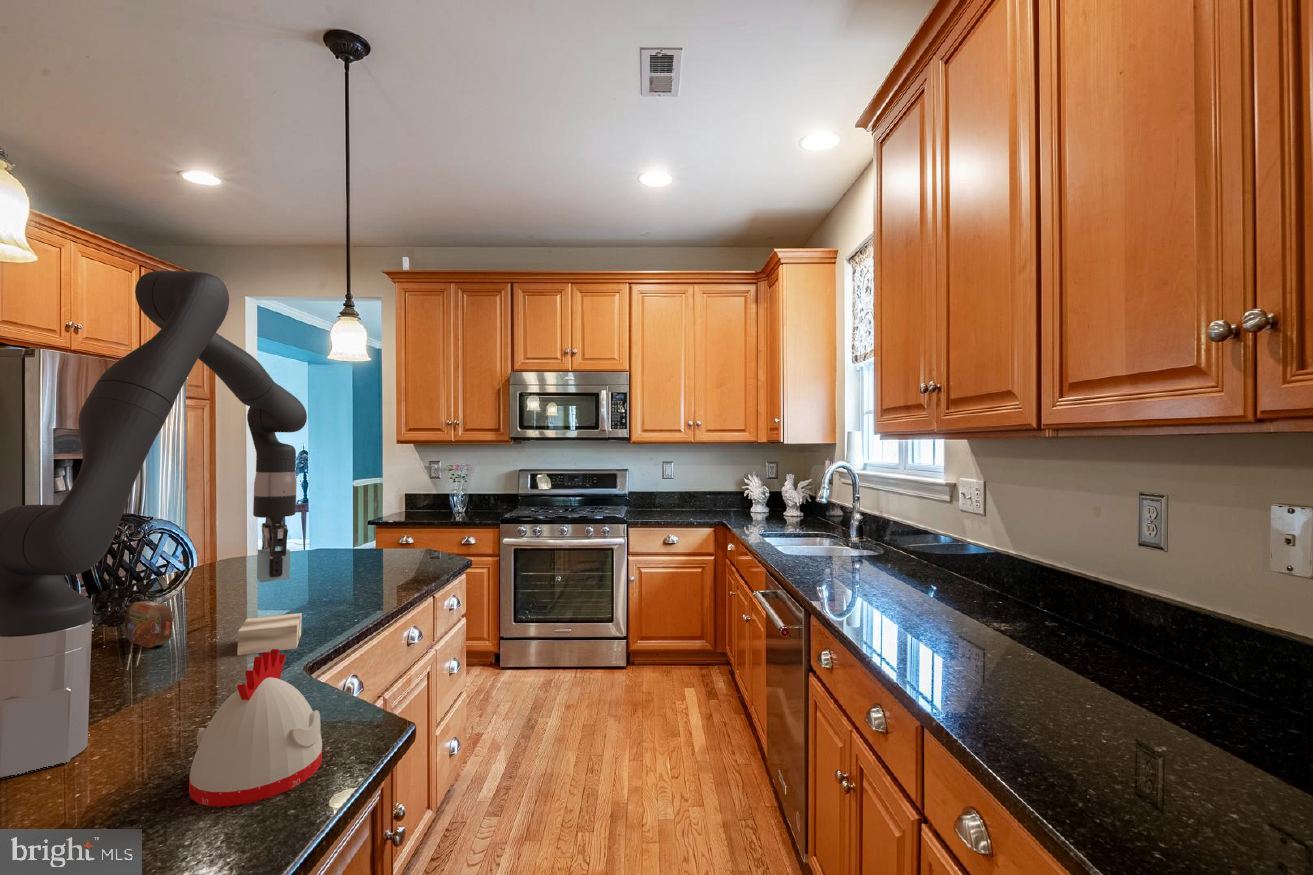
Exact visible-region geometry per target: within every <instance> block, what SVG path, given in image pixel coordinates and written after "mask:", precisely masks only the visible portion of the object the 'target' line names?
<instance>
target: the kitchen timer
mask: <svg viewBox="0 0 1313 875" xmlns="http://www.w3.org/2000/svg"><path fill="white" fill-rule="evenodd" d="M286 656H287V655H286V654H284V653H283V654H282V653H281V654H280V650H279V649H272V650H271V652H262V653H261V656H254V659H253V667H252V669H251V670H250V669H247V670H245V679H246V683H245V684H237V690H235V691H234V692H233V693H232V694H231V695H230V696H229V697H228V698H226V699H225V701H224V702H222V704H221V705H220V707H219V708H218V709H217V710H216V712H215V713H214V714H213V716H212V718H211V720H210V721H209V722H208V725H207V726H206V727H201V728H199V729H198V731H197V734H196V745H197V750H196V752H195V755H194V756H193V757H194V758H193V760H192V764H191V767H190V771H189V781H188V782H189V783H188V792H189V796H190V799H191V800H192V801H194V802H196V803H197V804H199V805H204V806H208V807H209V806H210V807H232V806H239V805H240V806H241V805H246V804H252V803H254V802H258V801H261V800H262V801H263V800H265V799H270V798H272V797H274V796H277V795H279V794H282V793H284V792H286V791H289V790H291V789H293V788H295V787H297V786H298V785H300V784H302V783H304V782H306V781H307V779H309V778H310V777H312V776H313V775H314V774H315V773H316V772H317V771H318V769H319V768H320V766H321V765H322V761H323V760H322V759H323V740H322V739H323V738H322V733H321V714H320V711H319V710H318V709H317V710H316V709H315V710H313V709H312V707H311V705H310V703H309V702H308V701H307V699H306V698H305V696H304V695H303V694H302V693H301V692H300V690H298V689H297V688H296V687H295V686H294V685H292V684H291V683H289V682H287V681H285V680H283V679H280V678H281V675H282V673H283V668H284V666H285V665H284V664H285V660H286Z"/></svg>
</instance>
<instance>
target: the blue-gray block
mask: <svg viewBox="0 0 1313 875" xmlns="http://www.w3.org/2000/svg"><path fill="white" fill-rule="evenodd" d="M275 551H280V548H279V547H278V548H275ZM256 559H257V560H256V563H257V565H256V567H257V568H256V579H257V580H258V581H259V582H260V583H267V582H275V581H276V582H277V581H284V580H290V578H291V576H290V575H291V573H290V572H291V571H290V568H291V567H290V566H291V550H290V549H289V548H287V547H286V556H284V558H283V566H282V576H280V577H270V576H269V563H270V559H269V549H262V548H261V549H257V558H256Z"/></svg>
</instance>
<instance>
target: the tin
mask: <svg viewBox="0 0 1313 875" xmlns="http://www.w3.org/2000/svg"><path fill="white" fill-rule="evenodd" d="M173 622H174V615H173V611H172V609H171V607H169V606H168V604H167V605H166V604H162V603H157V602H153V601H148V600H147V601H146V600H145V601H135V602H132V603H131V604H130V605H129V606H128V608H127V611H126V614H125V618H124V629H125V634H126V638H127V640H128V641H129V642H130V643H131V642H132V643H131V644H134V645H139V646H142V647H144V648H146V649H147V648H148V649H151V648H155V647H159V646H160V647H161V646H164V645H166V644H167V643H168V642H169V641H170V639H171V638H172V632H173V626H174V625H173V624H174V623H173Z"/></svg>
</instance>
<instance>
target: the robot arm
mask: <svg viewBox="0 0 1313 875" xmlns="http://www.w3.org/2000/svg"><path fill="white" fill-rule="evenodd" d="M134 290H135V292H134V293H135V300H136V302H137V305H138V306H139V308H140V310H141V312H143V314H144V315H145V316H146V317H147V319H149V320H150V321H151V322H152V323H153V324H154V325H155V326H156V327H158V328H160V330H159V331H158V332H157V333H156V334H155V335H154V336H153V337H151V338H150V339H149V340H147V341H146V342H145V343H143V344H142V345H140V346H138V347H137V348H135V349H134V350H132V351H131V352H130V353H128V354H126V355H124V356H123V357H121V358H120V359H119V360H117V361H116V362H115V363H114V364H112V365H111V366H110V367H109V368H106V370H105V371H104V372H103V373H102V375H101V376H100V377H99V378H98V380H97V381H96V382H95V385H94V386H93V387H92V389H91V391H90V393H89V394H88V396H87V397H86V399H85V401H84V403H83V405H82V407H81V409H80V412H79V414H78V421H77V422H78V434H79V441H80V444H81V451H82V462H81V466H80V469H79V472H78V475H77V477H76V478H75V480H74V482H73V484H72V486H71V488H70V490H69V491H68V493H67V495H66V496H65V498H63V500H62V502H61V503H60V504H24V505H18V506H17V505H16V506H13V507H11V508H8V509H6V510H4V511H2V512H1V513H0V777H3V776H9V775H15V776H18V775H17V774H19V775H23V774H26V773H25V772H27V773H29V772H28V771H30V770H35V771H37V770H36V769H39V770H41V769H40V768H43V767H47V768H49V767H48V766H52V767H55V766H54V765H56V764H60V763H64V764H67V763H70V761H71V760H72V758H74V757H76V756H78V755H79V754H80V753H82V752H83V751H84V750H86V748H87V747H88V743H89V742H88V740H89V738H88V736H89V734H88V733H89V712H90V711H89V710H90V708H89V707H90V686H91V684H90V680H91V678H90V677H91V653H92V635H93V633H92V631H93V602H92V600H91V599H90V598H89V597H87V596H85V595H84V594H82V593H80V592H78V591H76V590H74V589H73V588H72V587H71V586H70V585H69V584H68V583H67V581H66V579H65V576H73V575H74V576H75V575H79V574H82V573H85V572H87V571H89V570H91V569H92V568H93V567H95V566H96V565H97V564H98V563H99V562H100V561H101V560H102V559H103V557H104V556H105V555H106V554H107V552H108V551H109V549H110V546H111V544H112V542H113V541H114V538H115V536H116V533H117V530H118V528H119V525H120V524H121V520H122V517H123V515H124V512H125V509H126V506H127V503H128V500H129V497H130V495H131V492H132V490H133V487H134V485H135V482H136V480H137V478H138V475H139V474H140V471H141V469H142V467H143V465H144V463H145V461H146V459H147V457H148V454H149V453H150V450H151V448H152V446H153V444H154V442H155V440H156V438H157V437H158V435H159V433H160V431H161V430H162V428H163V426H164V424H165V422H166V420H167V418H168V417H169V415H170V413H171V410H172V409H173V407H174V405H175V402H176V400H177V398H178V395H179V393H180V391H181V389H182V387H183V386H184V384H185V382H186V380H188V379H187V378H189V377H188V376H190V373H191V371H192V370H193V369H194V366H195V364H196V362H197V361H198V360H199V361H201V362H202V363H203V364H204V365H205V366H207V367H208V368H209V369H210V371H212V372H213V373H214V374H215V375H216V376H217V377H218V378H219V379H220V380H221V381H222V383H224V385H225V386H226V387H227V388H228V389H229V390H230V391H231V392H232V393H233V395H234V396H235V397H236V398H237V399H238V401H239V402H241V403H242V404H243V405H245V406H247V407H249V408H248V410H247V414H246V417H247V418H246V420H247V425H248V428H249V431H250V434H251V438H252V441H253V445H254V449H255V452H256V459H255V460H256V461H255V478H254V482H253V504H252V505H253V511H252V514H253V515H252V516H254V517H255V518H260V519H261V518H265V522H262V524H261V549H269V559H270V563H269V576H270V577H280V576H282V566H283V558H284V556H286V548H287V542H288V532H289V529H288V525H287V524H285V520H284V519H285V518H286V517H292V516H294V515H295V514H296V512H297V510H296V509H297V477H296V468H297V467H296V466H297V464H296V462H297V460H296V458H297V455H296V454H297V453H296V452H297V451H296V448H295V447H294V446H293V445H291V444H288V443H283V442H280V441H279V439H278V437H277V435H276V433H296V432H299V431H301V430H302V429H304V427H305V425H306V423H307V419H308V415H307V410H306V408H305V406H304V404H303V403H302V402H301V401H300V400H299V399H298V398H297V397H296V396H294V394H292V393H291V392H290V391H288V390H287V389H285V388H284V387H283V386H281V384H280V385H279V384H278V383H276V382H275V381H274V379H273V378H272V377H271V375H270V374H269V373H268V372H267V371H266V369H265V368H264V366H263V365H262V364H261V363H260V362H259V361H258V360H257V359H256V358H255V357H254V356H253V355H251V354H250V353H249V352H247V351H246V350H244V349H242V348H241V347H239V346H238V345H236V344H235V343H234V342H232V341H229V340H228V339H227V338H225V337H224V336H222V335H221V334H219V333H218V332H217V331H218V330H219V329H220V327H221V326H222V324H223V322H224V321H225V319H226V316H227V315H228V314H227V313H228V310H229V305H230V295H229V290H228V288H227V285H226V284H225V283H224V281H222V279H220V278H219V277H218V276H216V275H214V274H211V273H207V272H201V271H200V272H199V271H189V270H188V271H187V270H184V271H183V270H155V271H149V272H146V273H145V274H142V275H141V277H139V279H138V281H137V282H136V285H135V289H134ZM275 548H280V551H275ZM66 762H67V763H66ZM60 765H61V764H60ZM56 766H57V765H56ZM43 769H44V768H43ZM22 773H23V774H22Z"/></svg>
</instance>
